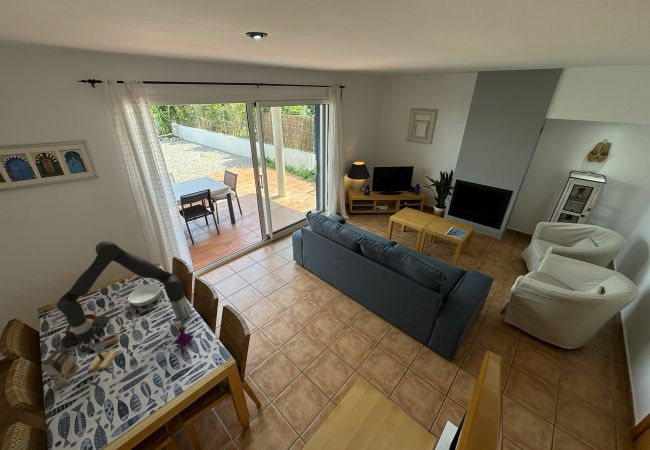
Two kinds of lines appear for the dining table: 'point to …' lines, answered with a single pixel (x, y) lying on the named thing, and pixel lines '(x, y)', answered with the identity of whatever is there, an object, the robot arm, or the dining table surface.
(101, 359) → the keeper
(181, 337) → the perfume bottle
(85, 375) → the dining table surface
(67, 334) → the casserole
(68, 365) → the coffee box
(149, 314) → the dining table surface
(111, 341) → the link
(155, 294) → the serving bowl
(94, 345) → the link
